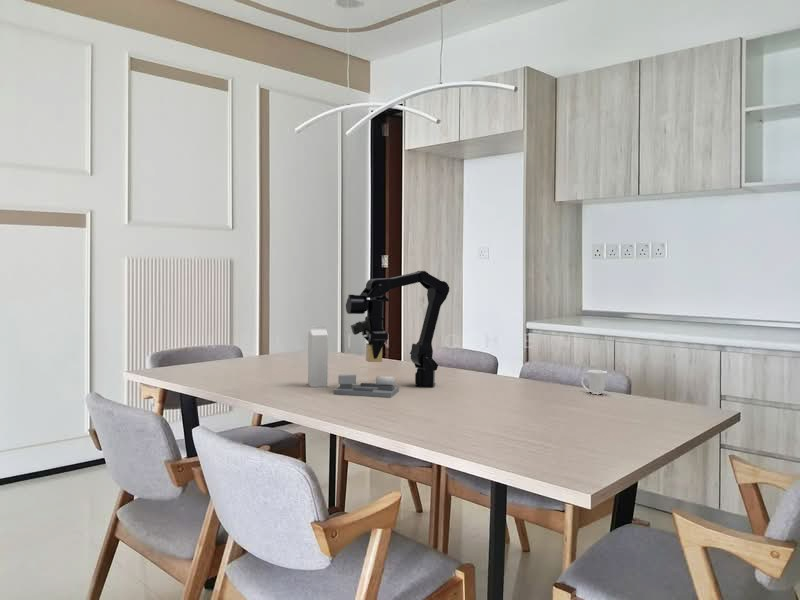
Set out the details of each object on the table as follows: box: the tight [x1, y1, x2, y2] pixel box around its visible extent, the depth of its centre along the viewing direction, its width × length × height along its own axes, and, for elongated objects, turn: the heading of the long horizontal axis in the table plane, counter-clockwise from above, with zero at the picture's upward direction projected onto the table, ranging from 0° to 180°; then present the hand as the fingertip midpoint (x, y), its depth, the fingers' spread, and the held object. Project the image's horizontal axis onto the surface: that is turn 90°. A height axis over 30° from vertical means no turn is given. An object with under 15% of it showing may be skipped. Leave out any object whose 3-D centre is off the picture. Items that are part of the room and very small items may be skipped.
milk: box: [307, 325, 329, 388], centre depth 234 cm, size 6×6×22 cm
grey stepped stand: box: [333, 374, 400, 399], centre depth 222 cm, size 20×12×6 cm, turn 77°
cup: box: [580, 369, 609, 395], centre depth 228 cm, size 7×10×8 cm
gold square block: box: [365, 343, 383, 363], centre depth 229 cm, size 5×5×6 cm
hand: (373, 357), depth 229 cm, fingers closed on gold square block, 5 cm apart
